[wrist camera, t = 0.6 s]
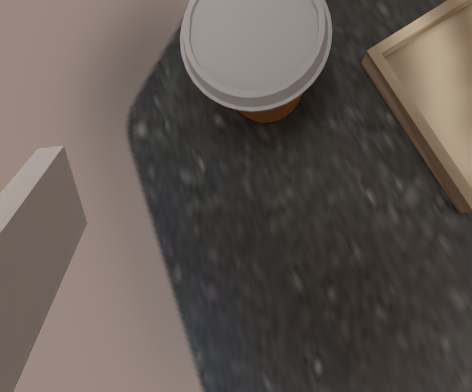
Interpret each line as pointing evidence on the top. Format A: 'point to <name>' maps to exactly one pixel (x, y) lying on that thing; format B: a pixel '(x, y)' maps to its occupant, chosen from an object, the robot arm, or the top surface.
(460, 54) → the birch tray
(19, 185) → the robot arm
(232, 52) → the disposable coffee cup
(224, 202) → the top surface
